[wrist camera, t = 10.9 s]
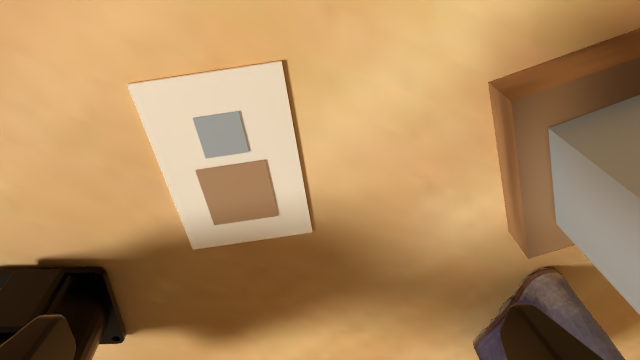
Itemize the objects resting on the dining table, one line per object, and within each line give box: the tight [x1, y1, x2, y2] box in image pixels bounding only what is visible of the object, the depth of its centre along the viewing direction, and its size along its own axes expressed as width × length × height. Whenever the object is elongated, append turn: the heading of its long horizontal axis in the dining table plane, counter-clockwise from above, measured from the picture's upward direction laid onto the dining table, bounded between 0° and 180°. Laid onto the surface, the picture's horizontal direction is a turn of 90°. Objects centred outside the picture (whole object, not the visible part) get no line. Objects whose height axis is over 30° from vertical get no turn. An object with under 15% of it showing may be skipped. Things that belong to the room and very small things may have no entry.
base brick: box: [488, 29, 640, 259], centre depth 21 cm, size 10×10×3 cm
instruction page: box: [127, 61, 312, 250], centre depth 21 cm, size 10×7×1 cm
